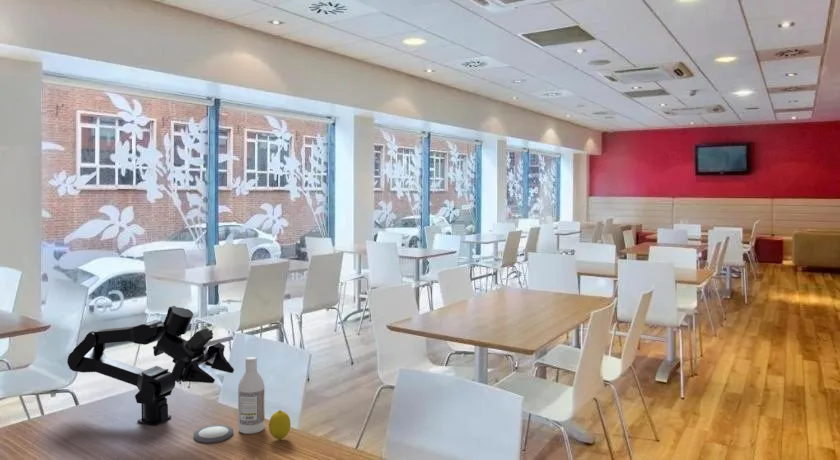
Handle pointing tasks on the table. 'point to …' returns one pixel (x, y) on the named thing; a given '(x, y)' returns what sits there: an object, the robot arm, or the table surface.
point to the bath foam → (251, 399)
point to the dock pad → (213, 433)
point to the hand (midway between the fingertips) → (223, 376)
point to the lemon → (279, 425)
